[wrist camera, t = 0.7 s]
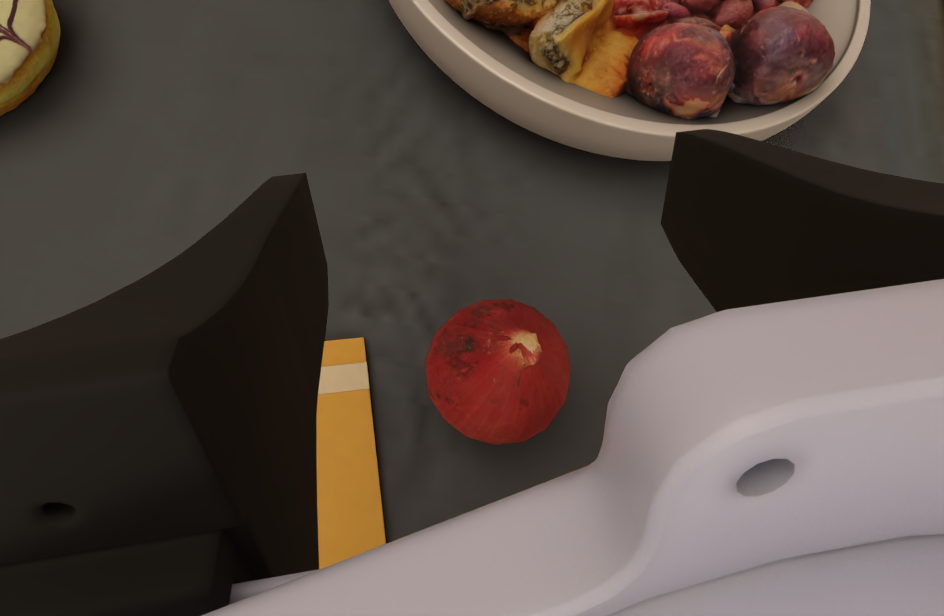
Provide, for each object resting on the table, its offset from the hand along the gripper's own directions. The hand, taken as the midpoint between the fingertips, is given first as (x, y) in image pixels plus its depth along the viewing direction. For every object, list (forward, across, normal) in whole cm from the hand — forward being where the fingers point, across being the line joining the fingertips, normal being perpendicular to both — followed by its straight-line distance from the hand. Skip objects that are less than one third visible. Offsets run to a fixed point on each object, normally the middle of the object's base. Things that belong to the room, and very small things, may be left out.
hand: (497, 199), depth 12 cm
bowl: (+31, -12, +2) cm, 33 cm away
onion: (+9, -1, +15) cm, 17 cm away
